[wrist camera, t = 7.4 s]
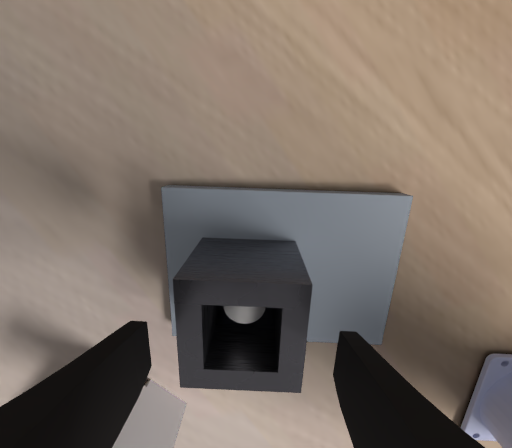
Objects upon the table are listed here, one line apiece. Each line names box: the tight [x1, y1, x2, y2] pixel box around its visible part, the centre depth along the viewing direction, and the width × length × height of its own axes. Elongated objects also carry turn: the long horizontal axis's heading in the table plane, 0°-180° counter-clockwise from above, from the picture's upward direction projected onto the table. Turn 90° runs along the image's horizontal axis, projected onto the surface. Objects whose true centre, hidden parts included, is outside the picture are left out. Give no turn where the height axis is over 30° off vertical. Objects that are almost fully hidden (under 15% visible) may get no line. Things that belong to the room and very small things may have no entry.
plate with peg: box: [161, 185, 413, 345], centre depth 14 cm, size 14×10×4 cm
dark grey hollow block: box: [173, 237, 313, 393], centre depth 13 cm, size 6×6×5 cm
